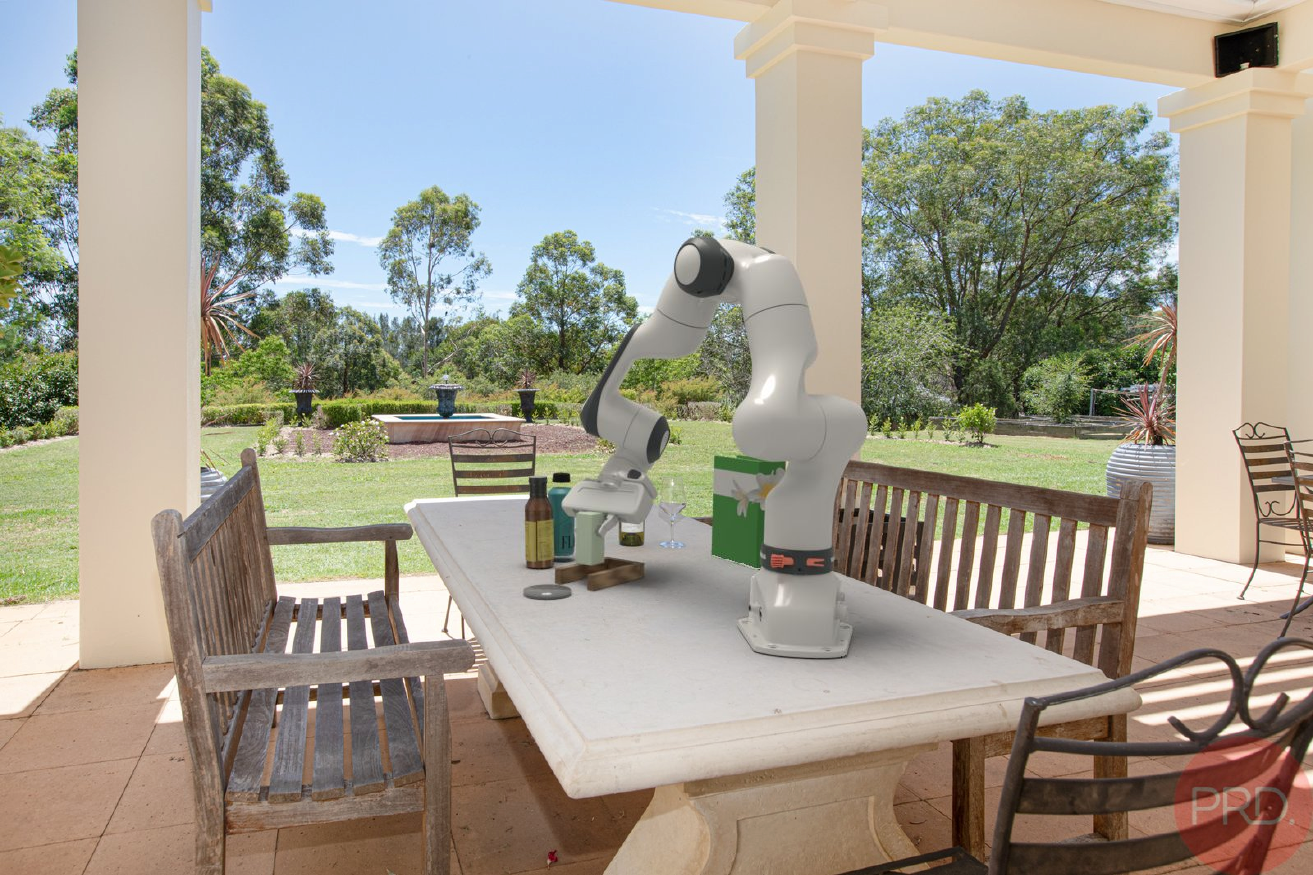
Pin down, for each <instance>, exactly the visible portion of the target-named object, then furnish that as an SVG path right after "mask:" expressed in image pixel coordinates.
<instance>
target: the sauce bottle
mask: <svg viewBox="0 0 1313 875" xmlns="http://www.w3.org/2000/svg"><path fill="white" fill-rule="evenodd" d="M548 482H549V481H548V476H546V475H530V476H528V483H529V499H528V500H527V502H526V503H525V506H524V546H525V547H524V549H525V550H524V551H525V562H526V567H528V568H529V569H536V568H538V569H540V570H541V568H543V569H549V568H552V567H553V566H554V564H555V556H554V526H553V511H552V505H551V504H550V501H549V499H548V487H547V485H548ZM538 569H537V570H538Z"/></svg>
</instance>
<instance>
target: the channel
mask: <svg viewBox="0 0 1313 875" xmlns="http://www.w3.org/2000/svg"><path fill="white" fill-rule="evenodd" d="M643 578H645V562H640V561H636V560H631V559H630V560H628V559H623V558H618V557H617V558H616V557H612V556H611V557H610V556H604V563H600V564H595V565H586V564H579V563H575V564H574V563H573V564H568V565H565V566H560V567H556V568H554V584H555V585H564V584H568V583H571V582H576V581H580V580H584V579H587V584H586V590H587V591H590V592H595V591H598V590H602V589H606V588H609V587H612V586H618V585H620V584H624V583H629V582H631V581H632V582H633V581H636V580H639V579H643Z"/></svg>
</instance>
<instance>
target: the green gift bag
mask: <svg viewBox="0 0 1313 875" xmlns="http://www.w3.org/2000/svg"><path fill="white" fill-rule="evenodd" d="M778 468H782V469H783V470H784V471H785V472H786V469H787V461H783V462H769V461H764V460H760V459H756V458H752V457H748V456H746V455H744V454H743V455H742V454H736V457H730V456H723V455H714V456H713V482H712V483H713V486H712V487H713V490H712V520H711V521H712V526H711V527H712V528H711V530H712V532H711V556H712V555H715V556H718V557H721V558H723V559H729V560H732V561H735V562H738V563H744V564H746V565H749V566H752V567H754V568H761V567H762V566H761V564H760V558H761V556H760V550H761V544H762V543H763V542H764V521H765V510H762V509H761V508H760V502H761V500H762V499H761V500H759V501H757V502H755V503H753V504H752V502H753V501H754V500H755V499H750V500H749V503H748V507H747V513H746V518H745V516H744V513H743V511H742V513H741V515H740V516H739V515H738V513H737V506H738V503H739V502H740V501H741V500H736V499H734V498H733V496H732V495H731V490H732V489H734V490H737V489H736V487H735V485H734V483H733V479H734V480H735V481H736V482H737V483H738V485H739V486H740V487H741V488H742V489H743V490H744V491H745V492H747V493H748V492H749V491H751V490H753V489H761V488H760V487H759V485H758V484H757V481H756V475H757V474H758V473H762V474H764V475H765V476H766V477H767V479H768V481H769V478H770V475H771V473H772V471H773V470H774V472H773V476H774V475H776V470H777V469H778ZM738 491H739V490H738ZM743 510H744V509H743ZM723 559H722V560H723Z"/></svg>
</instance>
